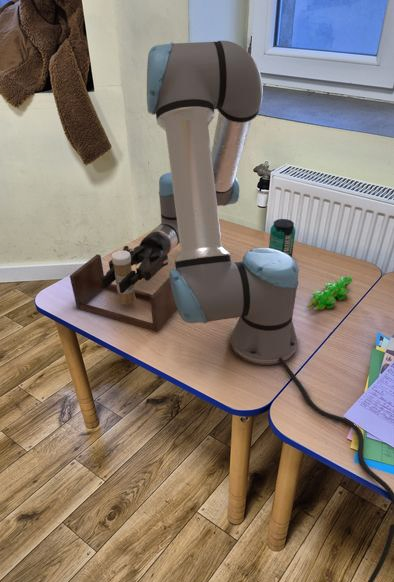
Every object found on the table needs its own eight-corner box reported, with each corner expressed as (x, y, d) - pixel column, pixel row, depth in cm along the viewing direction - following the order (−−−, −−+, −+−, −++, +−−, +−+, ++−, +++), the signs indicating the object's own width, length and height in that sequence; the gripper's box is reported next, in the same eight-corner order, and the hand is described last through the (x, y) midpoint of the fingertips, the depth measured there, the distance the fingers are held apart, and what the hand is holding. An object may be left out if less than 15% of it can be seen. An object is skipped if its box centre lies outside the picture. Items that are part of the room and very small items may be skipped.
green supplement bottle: (291, 255, 143) (296, 218, 135) (291, 267, 138) (296, 229, 130) (268, 254, 144) (271, 217, 136) (267, 265, 138) (270, 228, 131)
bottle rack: (157, 331, 115) (154, 298, 109) (76, 308, 123) (69, 275, 117) (179, 306, 123) (178, 273, 117) (102, 285, 131) (96, 254, 125)
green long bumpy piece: (358, 290, 127) (361, 277, 125) (319, 318, 118) (322, 304, 115) (337, 281, 131) (340, 268, 128) (298, 308, 122) (300, 294, 119)
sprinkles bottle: (129, 293, 124) (123, 247, 115) (139, 300, 121) (133, 254, 113) (115, 299, 122) (107, 253, 113) (124, 307, 119) (117, 260, 111)
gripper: (186, 262, 129) (144, 307, 113) (133, 250, 135) (85, 291, 119) (186, 237, 124) (141, 280, 108) (130, 225, 130) (79, 265, 114)
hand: (112, 285), depth 113 cm, fingers closed on sprinkles bottle, 4 cm apart
